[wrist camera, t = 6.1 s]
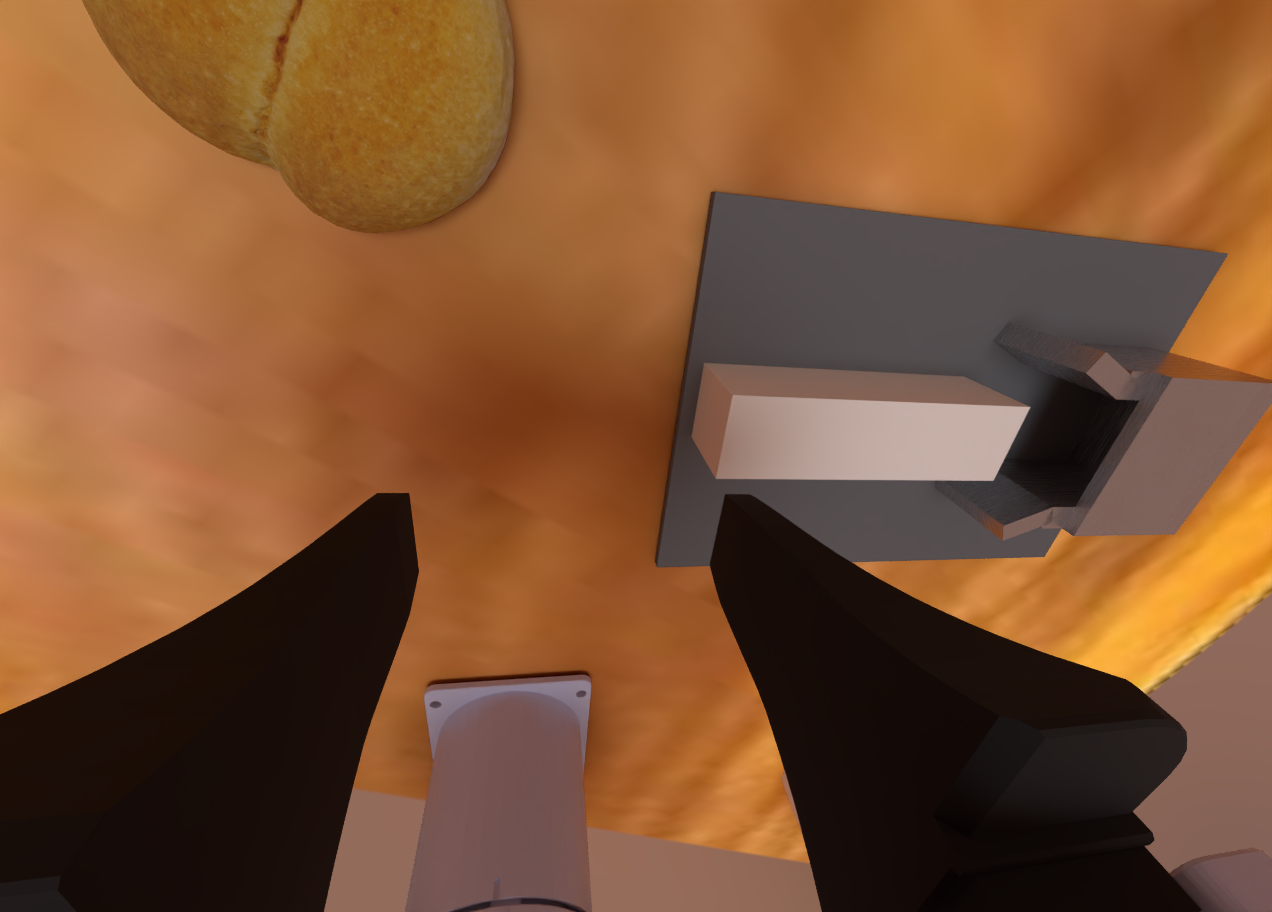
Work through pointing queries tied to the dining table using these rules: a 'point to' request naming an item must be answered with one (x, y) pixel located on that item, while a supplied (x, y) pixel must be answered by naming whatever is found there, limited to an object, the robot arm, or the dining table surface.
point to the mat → (906, 350)
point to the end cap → (1120, 442)
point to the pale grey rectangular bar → (851, 425)
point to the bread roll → (333, 93)
